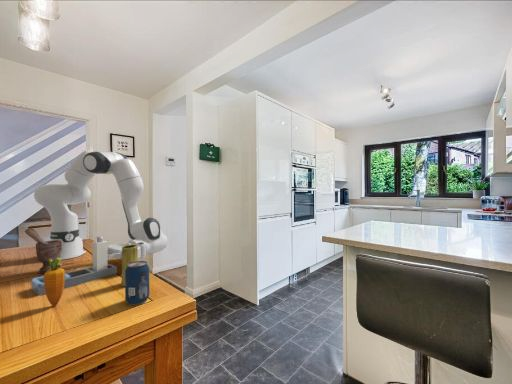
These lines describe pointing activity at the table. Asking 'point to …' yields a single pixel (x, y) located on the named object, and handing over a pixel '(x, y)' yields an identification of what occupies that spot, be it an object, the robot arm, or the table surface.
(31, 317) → the table surface
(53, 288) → the carrot
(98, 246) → the capped white pillar
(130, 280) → the soda can
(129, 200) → the robot arm
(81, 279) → the ladder grid frame
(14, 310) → the table surface
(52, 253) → the mortar and pestle
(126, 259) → the vase
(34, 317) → the table surface
